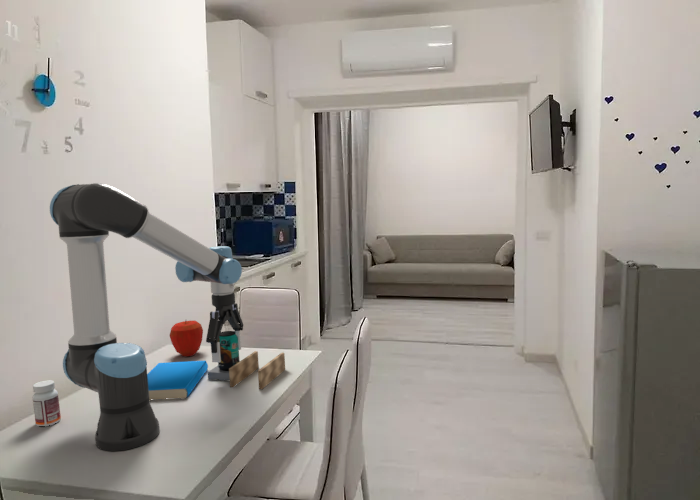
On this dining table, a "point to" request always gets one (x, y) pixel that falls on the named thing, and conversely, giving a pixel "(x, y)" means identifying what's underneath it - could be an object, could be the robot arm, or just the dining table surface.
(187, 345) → the apple
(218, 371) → the stand
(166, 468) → the dining table surface
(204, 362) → the book
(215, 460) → the dining table surface
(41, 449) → the dining table surface
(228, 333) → the beverage can
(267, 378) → the slot rack
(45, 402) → the pill bottle
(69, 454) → the dining table surface
